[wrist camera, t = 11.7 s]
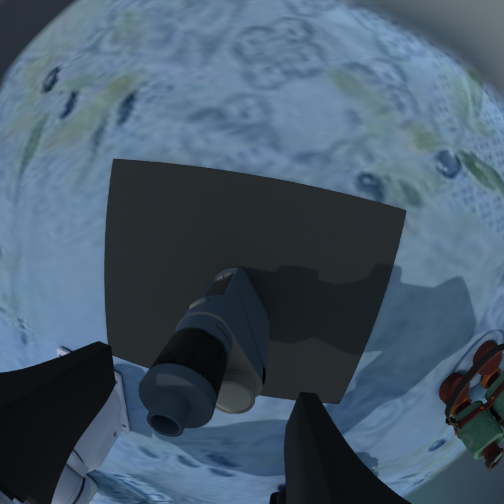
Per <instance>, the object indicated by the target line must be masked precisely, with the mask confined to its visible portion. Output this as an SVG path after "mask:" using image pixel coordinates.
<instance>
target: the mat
mask: <svg viewBox="0 0 504 504" xmlns="http://www.w3.org/2000/svg"><path fill="white" fill-rule="evenodd" d="M405 215H406V210H403V209H400V208H396V207H393V206H389V205H386V204H382V203H379V202H375V201H371V200H367V199H363V198H360V197H356V196H352V195H348V194H343V193H339V192H335V191H331V190H326V189H322V188H317V187H313V186H308V185H303V184H299V183H294V182H289V181H284V180H278V179H273V178H267V177H262V176H256V175H250V174H244V173H238V172H231V171H225V170H218V169H211V168H203V167H196V166H187V165H179V164H170V163H160V162H149V161H137V160H123V159H113V164H112V170H111V178H110V186H109V195H108V205H107V217H106V232H105V261H104V282H105V311H106V326H107V338H108V345H110V346H111V348H112V355H113V356H115V357H118V358H121V359H123V360H126V361H129V362H132V363H135V364H137V365H140V366H143V367H146V368H151V366H154V364H153V363H154V362H155V360H156V359H157V357H158V356H159V354H160V353H161V351H162V350H163V348H164V347H165V345H166V344H167V342H168V341H169V339H170V338H171V337H172V335H173V334H174V332H175V330H176V327H177V324H178V323H179V321H180V320H181V319H182V318H183V317H184V315H185V314H186V312H187V311H188V310H189V307H190V305H191V304H192V303H194V302H195V301H197V300H198V299H199V297H200V296H201V294H202V293H203V291H204V290H205V288H206V287H207V286H208V284H209V283H210V281H211V280H212V278H213V279H214V278H215V277H216V276H217V275H218V274H219V273H220V272H221V271H223V270H225V269H228V268H238V267H241V268H242V269H243V270H244V271H245V272H246V274H247V276H248V278H249V280H250V282H251V284H252V286H253V288H254V289H255V291H256V293H257V295H258V297H259V299H260V301H261V303H262V305H263V307H264V308H265V310H266V312H267V316H268V318H267V319H268V320H269V322H270V331H269V348H268V364H267V377H266V382H265V384H264V386H263V387H262V390H261V392H260V394H259V395H262V396H268V397H275V398H282V399H290V400H297V398H298V396H299V393H300V392H308V393H316V394H317V395H318V397H319V398H320V400H321V402H322V403H332V404H339V403H340V401H341V399H342V397H343V395H344V393H345V391H346V389H347V387H348V385H349V383H350V381H351V379H352V376H353V374H354V372H355V370H356V368H357V365H358V363H359V361H360V358H361V356H362V354H363V351H364V349H365V346H366V344H367V341H368V339H369V336H370V334H371V331H372V329H373V326H374V323H375V320H376V318H377V315H378V312H379V309H380V306H381V303H382V300H383V297H384V294H385V291H386V288H387V285H388V282H389V278H390V275H391V271H392V268H393V264H394V261H395V257H396V253H397V250H398V246H399V242H400V238H401V233H402V229H403V225H404V220H405ZM152 364H153V365H152ZM157 364H158V362H157V363H156V365H157Z"/></svg>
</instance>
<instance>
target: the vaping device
mask: <svg viewBox="0 0 504 504" xmlns="http://www.w3.org/2000/svg"><path fill="white" fill-rule="evenodd" d="M267 318H268V316H267V312H266V310H265V308H264V307H263V305H262V303H261V301H260V299H259V297H258V295H257V293H256V291H255V289H254V288H253V286H252V284H251V282H250V280H249V278H248V276H247V274H246V272H245V271H244V270H243V269H242V268H241V267H238V268H228V269H225V270H223V271H221V272H220V273H219V274H218V275H217V276H216V277H215V278H214V279H213V278H212V280H211V281H210V283H209V284H208V286H207V287H206V288H205V290H204V291H203V293H202V294H201V296H200V297H199V299H198V300H197V301H195V302H194V303H192V304H191V305H190V307H189V310H188V311H187V312H186V314H185V315H184V317H183V318H182V319H181V320H180V321H179V323H178V324H177V327H176V330H175V332H174V334H173V335H172V337H171V338H170V339H169V341H168V342H167V344H166V345H165V347H164V348H163V350H162V351H161V353H160V354H159V356H158V357H157V359H156V360H155V362H154V363H153V364H154V366H151V368H150V369H149V370H148V372H147V373H146V375H145V376H144V378H143V379H142V381H141V383H140V385H139V396H140V399H141V401H142V403H143V404H144V406H145V407H146V408H147V410H148V411H149V413H148V415H147V422H148V424H149V425H150V426H151V427H152V428H153V429H154V430H155V431H157V432H159V433H160V434H163V435H166V436H170V437H176V436H179V435H181V434H182V433H183V430H184V428H197V427H201V426H203V425H205V424H206V423H208V422H209V421H210V420H211V418H212V416H213V413H214V409H215V408H216V409H218V410H220V411H222V412H225V413H229V414H240V413H244V412H247V411H249V410H250V409H251V408H252V407H253V405H254V403H255V397H257V396H258V395H259V394H260V392H261V390H262V387H263V386H264V384H265V382H266V377H267V364H268V348H269V331H270V322H269V320H268V319H267ZM157 362H158V364H157V365H156V363H157ZM153 364H152V365H153Z"/></svg>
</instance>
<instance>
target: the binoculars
mask: <svg viewBox="0 0 504 504" xmlns="http://www.w3.org/2000/svg"><path fill="white" fill-rule="evenodd" d="M502 351H504V343H503V344H500V345H497V344H496V343H495V342H494V341H488V342H486V343H484V344H483V345H482V346H481V347H480V348H479V349H478V350H477V352H476V354H475V356H474V360H473V364H474V365H473V366H472V367H471V368H470V370H469V371H468V372H467V373H466V374H465V375H463V374H461V373H454V374H452V375H450V376H449V377H448V378H447V379H446V380H445V381H444V383H443V384H442V386H441V389H440V392H439V397H440V399H441V400H442V401H443V402H444V403H445V404H446V410H445V415H446V417H447V418H446V422H445V423H447V424H448V425H452V426H453V428H454V430H455V435H457V436H458V438H459V439H461V440H462V442H463V443H464V445H465V446H466V447H467V449H468V450H469V452H470V453H471V455H472V456H473V457H474V458H475V459H480V458H482V457H484V458H485V459H486V462H485V465H486V466H487V468H488V470H489V471H491V470H492V469H493V468H494V467H495V466H496V465H497V464H498V463H499V462H500V460H501V459H502V457H503V455H504V449H503V448H500V447H499V446H498V445H499V444H500V443H501V442H502V441H503V440H504V432H503V430H502V427H503V428H504V371H503V372H502V373H501V369H500V368H499V367H498V366H499V364H500V362H501V359H502ZM477 373H479V374H480V375H483V378H482V381H481V385H482V386H483V388H484V389H486V390H487V389H488V390H487V392H486V394H485V399H486V400H487V403H485V404H483V402H482V401H480V400H478V401H475V402H473V403H472V404H471V402H472V400H471V399H470V397H469V396H468V395H467V394H468V391H469V386H470V381H471V380H472V379H473V378H474V376H475V375H476V374H477ZM488 409H489V410H490V411H489V410H488ZM450 415H452V416H451V417H450ZM453 417H454V418H453ZM494 417H495V418H496V419H495V418H494Z"/></svg>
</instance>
